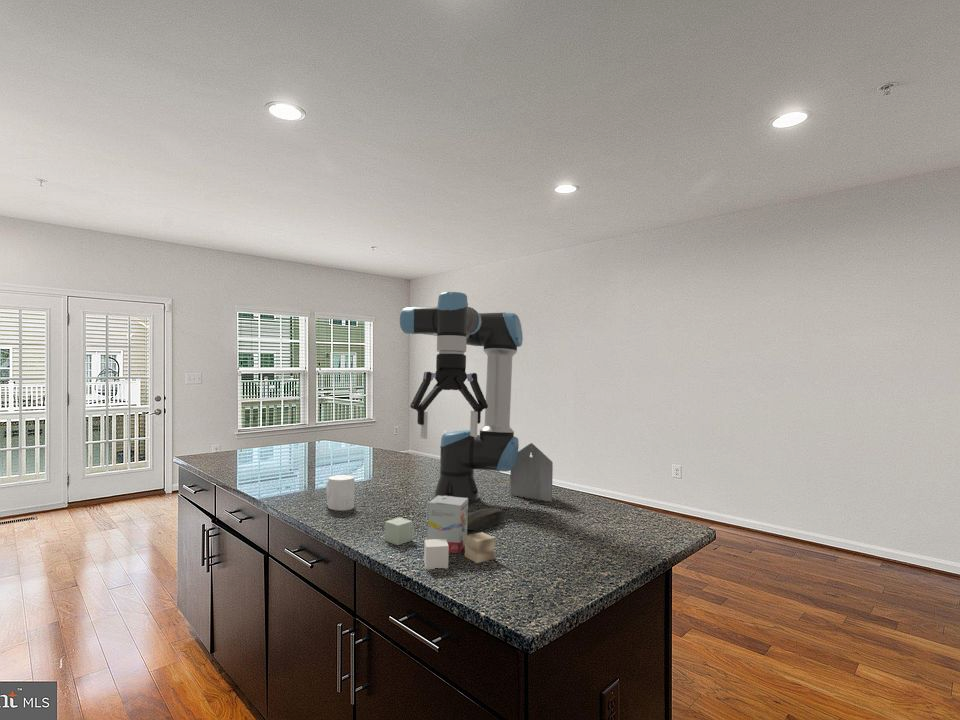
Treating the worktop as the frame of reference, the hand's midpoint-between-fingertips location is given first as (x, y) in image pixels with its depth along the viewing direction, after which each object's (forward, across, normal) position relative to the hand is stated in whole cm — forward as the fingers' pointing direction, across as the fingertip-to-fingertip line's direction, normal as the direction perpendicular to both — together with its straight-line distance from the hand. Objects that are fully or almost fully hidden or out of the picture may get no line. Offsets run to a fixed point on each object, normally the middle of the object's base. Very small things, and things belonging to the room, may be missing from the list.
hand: (449, 437), depth 128 cm
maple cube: (+27, -4, +10) cm, 29 cm away
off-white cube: (+28, +7, +10) cm, 30 cm away
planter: (+27, -48, -36) cm, 66 cm away
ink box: (+28, 0, 0) cm, 28 cm away
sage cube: (+27, +10, -9) cm, 30 cm away
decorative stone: (+28, -15, -13) cm, 34 cm away
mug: (+27, +18, -48) cm, 58 cm away
